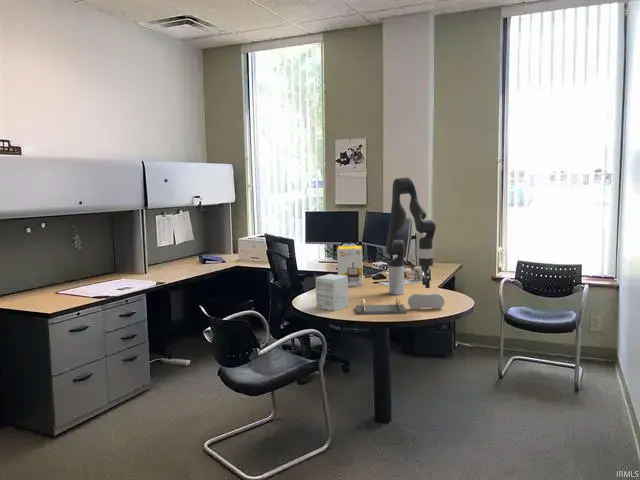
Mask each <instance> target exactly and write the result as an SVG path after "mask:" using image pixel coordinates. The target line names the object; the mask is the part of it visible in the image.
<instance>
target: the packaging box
mask: <svg viewBox="0 0 640 480" xmlns="http://www.w3.org/2000/svg"><path fill="white" fill-rule="evenodd" d="M336 260H337V261H336V262H337V263H336V264H337V266H336V267H337V275H343V276H348V287H363V281H364V280H363V279H364V278H363V277H364V275H363V273H364V272H363V245H338V247H337V249H336Z"/></svg>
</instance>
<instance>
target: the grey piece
mask: <svg viewBox="0 0 640 480" xmlns="http://www.w3.org/2000/svg"><path fill="white" fill-rule="evenodd" d="M445 302H446V301H445V299H444V297H443V295H441V294H440V293H421V294H420V293H413V294H411V295H410V296H409V297H408V299H407V304H408V306H409V308H410V309H412V310H419V309H423V308H425V309H429V308H431V309H434V310H440V309H442V308H443V307H444V306H445V304H446V303H445Z"/></svg>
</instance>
